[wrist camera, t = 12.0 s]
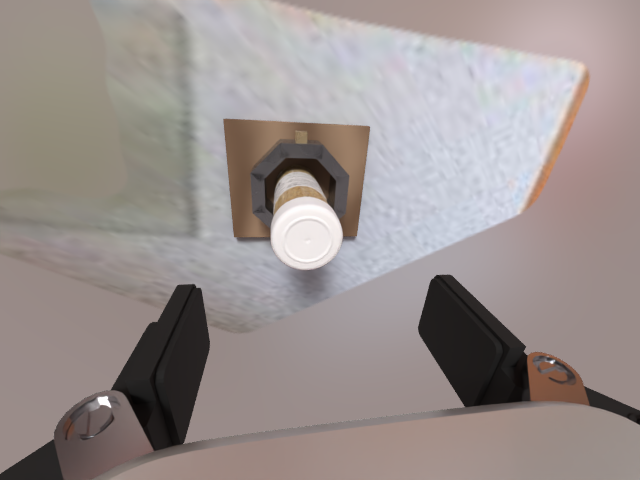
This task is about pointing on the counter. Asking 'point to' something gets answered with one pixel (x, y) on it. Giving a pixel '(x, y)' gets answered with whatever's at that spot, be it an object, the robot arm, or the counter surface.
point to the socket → (297, 150)
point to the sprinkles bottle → (303, 221)
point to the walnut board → (259, 137)
